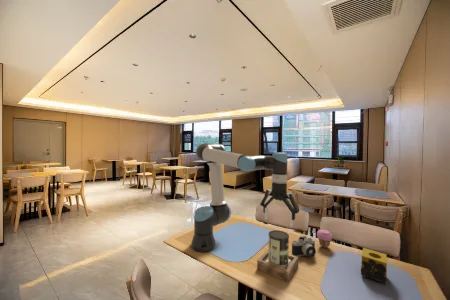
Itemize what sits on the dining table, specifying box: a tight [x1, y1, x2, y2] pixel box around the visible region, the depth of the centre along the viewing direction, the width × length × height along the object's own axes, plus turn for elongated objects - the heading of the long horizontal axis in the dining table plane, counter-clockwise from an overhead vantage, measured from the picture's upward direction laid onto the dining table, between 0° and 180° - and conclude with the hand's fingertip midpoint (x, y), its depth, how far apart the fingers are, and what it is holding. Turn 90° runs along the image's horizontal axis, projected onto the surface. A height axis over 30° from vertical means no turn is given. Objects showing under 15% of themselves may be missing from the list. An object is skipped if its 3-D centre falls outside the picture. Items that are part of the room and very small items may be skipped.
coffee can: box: [268, 229, 290, 267], centre depth 102 cm, size 10×10×14 cm
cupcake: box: [316, 229, 333, 248], centre depth 125 cm, size 9×9×10 cm
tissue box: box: [360, 247, 388, 284], centre depth 97 cm, size 10×10×10 cm
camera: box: [291, 235, 317, 258], centre depth 114 cm, size 16×9×10 cm, turn 106°
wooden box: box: [256, 248, 299, 283], centre depth 102 cm, size 16×16×4 cm
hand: (278, 222), depth 102 cm, fingers open, 13 cm apart
